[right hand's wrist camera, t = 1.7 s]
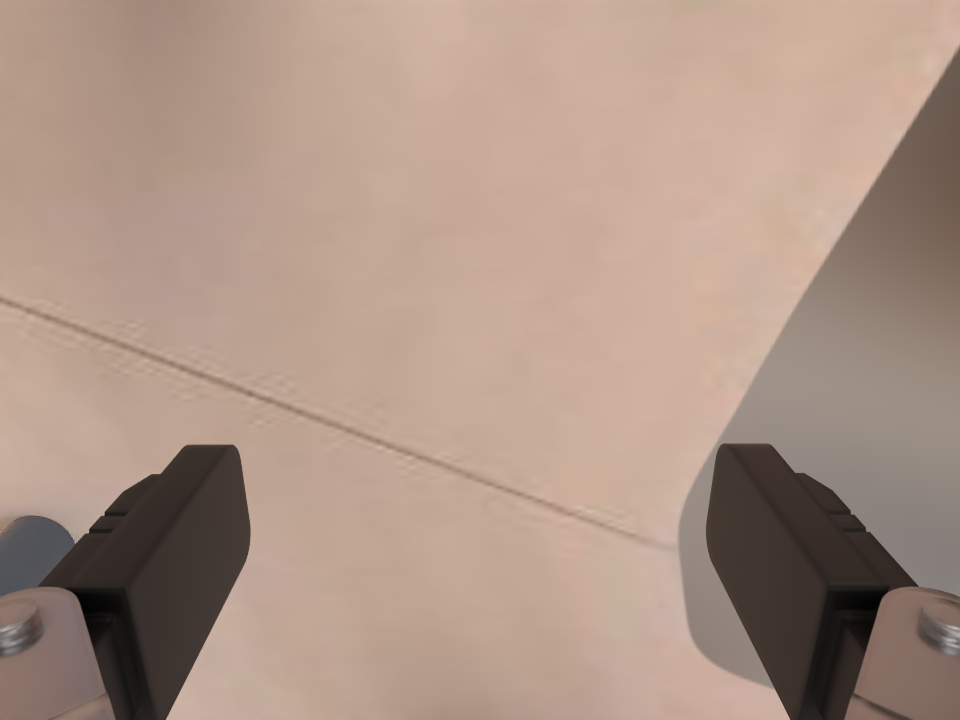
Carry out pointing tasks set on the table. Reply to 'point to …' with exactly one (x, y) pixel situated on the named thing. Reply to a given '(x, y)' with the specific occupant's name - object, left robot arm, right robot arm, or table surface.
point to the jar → (30, 552)
